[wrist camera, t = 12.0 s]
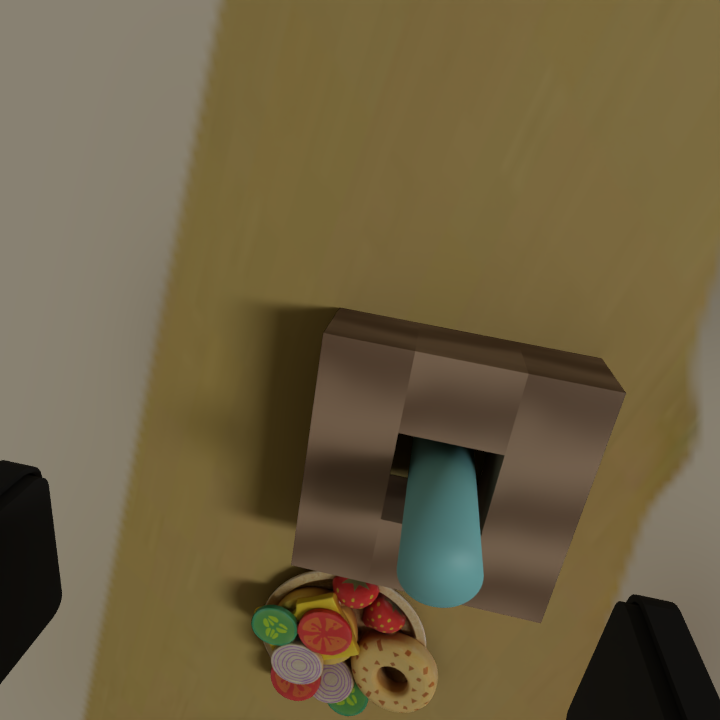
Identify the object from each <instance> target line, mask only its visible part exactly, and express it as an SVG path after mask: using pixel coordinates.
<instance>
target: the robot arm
mask: <svg viewBox="0 0 720 720" xmlns="http://www.w3.org/2000/svg"><path fill="white" fill-rule="evenodd" d="M61 598H62V589H61V581H60V573H59V565H58V556H57V548H56V540H55V532H54V524H53V516H52V508H51V499H50V491H49V484H48V481H47V480H46V479H45V478H42V475H41V472H40V470H39V469H38V468H36V467H33V466H28V465H24V464H19V463H14V462H10V461H5V460H2V461H0V684H1V682H2V681H3V680H4V679H5V677H6V676H7V675H8V674H9V672H10V671H11V670H12V668H13V667H14V666H15V665H16V664H17V662H18V661H19V660H20V658H21V657H22V656H23V655H24V653H25V652H26V651H27V650H28V648H29V647H30V646H31V645H32V643H33V642H34V641H35V640H36V638H37V637H38V636H39V634H40V633H41V632H42V630H43V629H44V628H45V627H46V625H47V624H48V623H49V622H50V621H51V619H52V618H53V617H54V615H55V614H56V612H57V610H58V608H59V605H60V603H61ZM566 720H720V699H719V696H718V694H717V692H716V690H715V687H714V685H713V683H712V681H711V679H710V676H709V674H708V672H707V670H706V667H705V665H704V663H703V661H702V659H701V656H700V654H699V652H698V650H697V647H696V645H695V643H694V641H693V638H692V636H691V634H690V632H689V629H688V627H687V625H686V623H685V620H684V618H683V616H682V614H681V612H680V610H679V608H678V607H677V605H675V604H674V603H673V602H669V601H664V600H659V599H655V598H650V597H645V596H641V595H634V594H633V595H632V596H630V597H629V599H628V600H627V602H621V601H619V602H617V603H616V605H615V606H614V609H613V611H612V613H611V615H610V618H609V620H608V622H607V624H606V627H605V629H604V631H603V633H602V635H601V638H600V640H599V642H598V644H597V647H596V649H595V651H594V653H593V656H592V658H591V660H590V662H589V665H588V667H587V669H586V671H585V674H584V676H583V678H582V680H581V683H580V685H579V687H578V689H577V692H576V694H575V696H574V698H573V701H572V703H571V705H570V707H569V710H568V713H567V718H566Z"/></svg>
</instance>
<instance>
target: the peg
mask: <svg viewBox="0 0 720 720" xmlns="http://www.w3.org/2000/svg"><path fill="white" fill-rule="evenodd" d="M397 577H398V580H399V583H400V585H401V586H402V588H403V589H404V591H405V592H406V593H407V594H408V595H410V596H411V597H412V598H413V599H415V600H417V601H418V602H420V603H423V604H425V605H429V606H433V607H440V608H448V607H454V606H458V605H461V604H464V603H466V602H468V601H469V600H471V599H472V598H473V597H474V596H475V595H476V594H477V593H478V592H479V590H480V588H481V586H482V584H483V578H484V573H483V560H482V547H481V535H480V522H479V509H478V496H477V484H476V471H475V458H474V449H472V448H467V447H462V446H458V445H453V444H448V443H443V442H439V441H434V440H429V439H424V438H420V437H415V436H414V437H413V441H412V449H411V457H410V465H409V473H408V481H407V490H406V498H405V506H404V514H403V522H402V530H401V538H400V546H399V554H398V562H397Z"/></svg>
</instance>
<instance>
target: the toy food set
mask: <svg viewBox="0 0 720 720" xmlns="http://www.w3.org/2000/svg"><path fill="white" fill-rule="evenodd" d="M251 625H252V629H253V631H254V633H255V634H256V635H257V636H258V637H259V638H260V639H261V640H263V642H264V645H265V647H266V650H267V652H268V654H269V655H270V657H271V664H272V669H271V681H272V684H273V686H274V688H275V689H276V690H277V692H278V693H279V694H281V695H282V696H283V697H285V698H287V699H290V700H294V701H302V700H306V699H308V698H310V697H312V696H314V697H315V698H316V699H318V700H320V701H322V702H325V703H328V705H329V706H330V707H331V708H332V709H333V710H334V711H335V712H337V713H339V714H341V715H344V716H354V715H357V714H359V713H360V712H362V711H363V710H364V709H365V707H366V706H367V703H368V700H371V701H372V702H373V703H375V704H376V705H378V706H380V707H382V708H384V709H386V710H389V711H392V712H399V713H407V712H413V711H416V710H418V709H421V708H422V707H424V706H425V705H427V704H428V702H429V701H430V700H431V698H432V697H433V695H434V693H435V690H436V686H437V681H438V670H437V666H436V663H435V661H434V658H433V657H432V655H431V654H430V652H429V651H428V650H427V649H426V636H425V632H424V628H423V626H422V623H421V621H420V619H419V617H418V615H417V613H416V612H415V610H414V609H413V608H412V606H411V605H410V604H409V603H408V602H407V600H406V599H405V598H404V597H403V596H402V595H400V594H399V593H398V592H397V591H396V590H394V589H392V588H387V587H383V586H379V585H375V584H370V583H366V582H362V581H357V580H353V579H349V578H344V577H340V576H336V575H332V574H327V573H323V572H319V571H314V570H313V571H309V572H305V573H302V574H299V575H297V576H295V577H293V578H291V579H289V580H287V581H286V582H284V583H283V584H282V585H280V586H279V587H278V588H277V589H276V590H275V591H274V592H273V593H272V595H271V596H270V597H269V599H268V601H267V603H266V605H264V606H260V607H257V608H256V609H255V611H254V615H253V617H252V622H251Z"/></svg>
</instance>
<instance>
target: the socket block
mask: <svg viewBox="0 0 720 720" xmlns="http://www.w3.org/2000/svg"><path fill="white" fill-rule="evenodd" d="M625 395H626V392H625V391H624V389H623V388H622V387H621V385H620V384H619V382H618V381H617V379H616V378H615V377H614V375H613V374H612V372H611V371H610V369H609V368H608V367H607V365H606V364H605V362H604V361H603V359H601V358H596V357H591V356H585V355H580V354H575V353H570V352H565V351H560V350H555V349H549V348H544V347H539V346H534V345H529V344H524V343H519V342H514V341H508V340H503V339H498V338H493V337H488V336H483V335H478V334H472V333H467V332H462V331H457V330H452V329H447V328H442V327H436V326H431V325H426V324H421V323H416V322H411V321H406V320H400V319H395V318H390V317H385V316H380V315H375V314H370V313H364V312H359V311H354V310H349V309H344V308H340V309H339V310H338V312H337V313H336V315H335V316H334V318H333V319H332V321H331V322H330V324H329V325H328V327H327V328H326V330H325V331H324V333H323V339H322V347H321V354H320V361H319V368H318V375H317V383H316V390H315V397H314V404H313V411H312V419H311V426H310V433H309V440H308V447H307V455H306V462H305V469H304V476H303V483H302V491H301V498H300V505H299V512H298V519H297V527H296V534H295V541H294V548H293V555H292V563H291V565H293V566H297V567H301V568H306V569H310V570H314V571H319V572H323V573H327V574H332V575H336V576H340V577H344V578H349V579H353V580H357V581H362V582H366V583H370V584H375V585H379V586H383V587H387V588H392V589H396V590H400V591H404V589H403V588H402V586H401V585H400V583H399V580H398V577H397V562H398V554H399V546H400V538H401V530H402V522H403V514H404V506H405V498H406V490H407V481H408V478H404V477H399V476H395V475H390V471H391V466H392V461H393V456H394V452H395V447H396V442H397V437H398V433H401V434H405V435H410V436H415V437H420V438H424V439H429V440H434V441H439V442H443V443H448V444H453V445H458V446H462V447H467V448H472V449H477V450H481V451H486V452H487V455H486V459H485V463H484V466H483V470H482V473H481V477H480V480H479V484H478V488H477V496H478V509H479V522H480V535H481V547H482V560H483V573H484V578H483V584H482V586H481V588H480V590H479V592H478V593H477V594H476V595H475V596H474V597H473V598H472V599H471V600H469V601H468V602H466V603H464V604H461V605H465V606H469V607H473V608H478V609H482V610H486V611H491V612H495V613H499V614H503V615H508V616H512V617H516V618H521V619H525V620H529V621H534V622H538V623H541V622H542V619H543V616H544V613H545V611H546V608H547V605H548V603H549V600H550V597H551V595H552V592H553V589H554V586H555V584H556V581H557V578H558V576H559V573H560V570H561V568H562V565H563V562H564V559H565V557H566V554H567V551H568V549H569V546H570V543H571V541H572V538H573V535H574V532H575V530H576V527H577V524H578V522H579V519H580V516H581V514H582V511H583V508H584V505H585V503H586V500H587V497H588V495H589V492H590V489H591V487H592V484H593V481H594V478H595V476H596V473H597V470H598V468H599V465H600V462H601V460H602V457H603V454H604V451H605V449H606V446H607V443H608V441H609V438H610V435H611V433H612V430H613V427H614V424H615V422H616V419H617V416H618V414H619V411H620V408H621V406H622V403H623V400H624V397H625Z"/></svg>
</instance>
